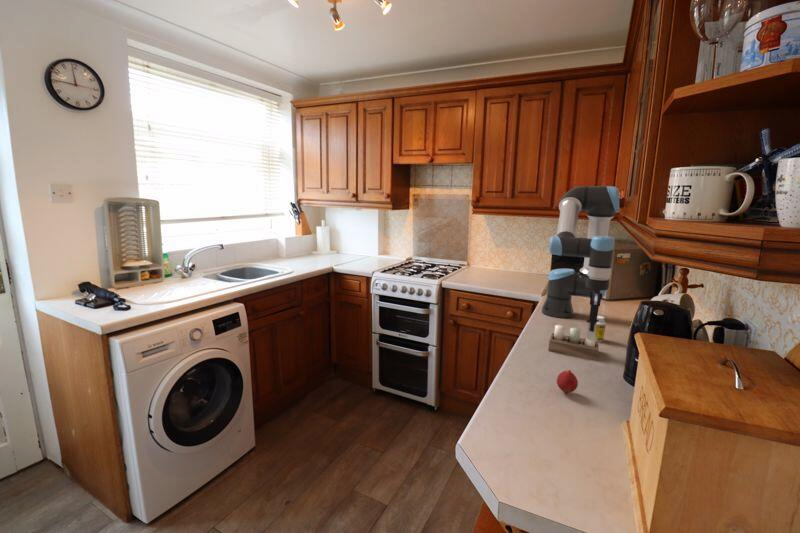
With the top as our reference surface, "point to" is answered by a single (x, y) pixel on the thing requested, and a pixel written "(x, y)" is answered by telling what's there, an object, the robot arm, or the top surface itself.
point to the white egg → (589, 342)
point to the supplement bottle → (600, 329)
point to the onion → (567, 381)
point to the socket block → (574, 348)
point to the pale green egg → (574, 335)
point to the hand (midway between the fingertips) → (590, 338)
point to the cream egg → (559, 332)
